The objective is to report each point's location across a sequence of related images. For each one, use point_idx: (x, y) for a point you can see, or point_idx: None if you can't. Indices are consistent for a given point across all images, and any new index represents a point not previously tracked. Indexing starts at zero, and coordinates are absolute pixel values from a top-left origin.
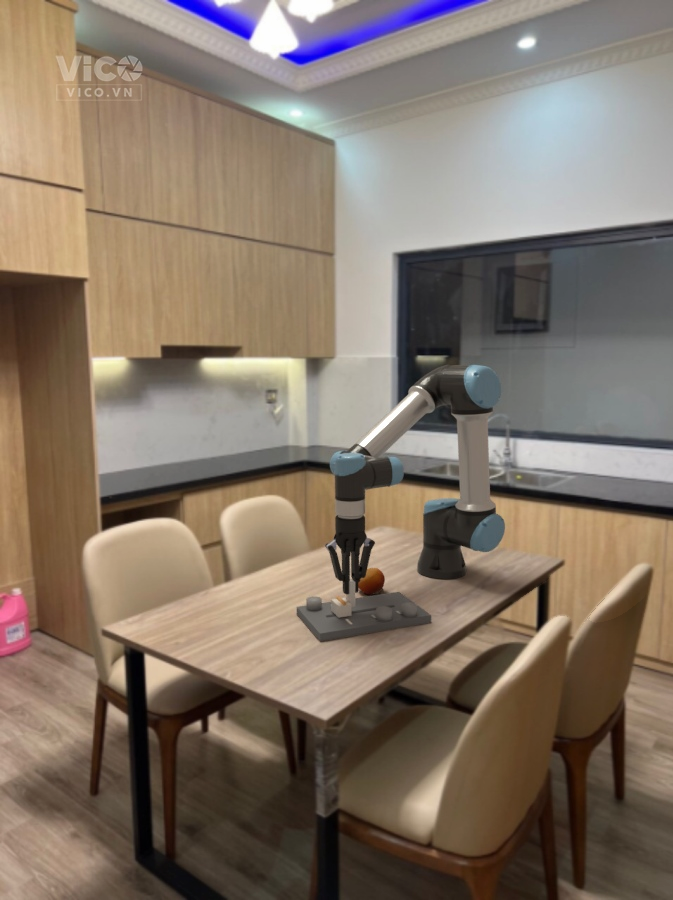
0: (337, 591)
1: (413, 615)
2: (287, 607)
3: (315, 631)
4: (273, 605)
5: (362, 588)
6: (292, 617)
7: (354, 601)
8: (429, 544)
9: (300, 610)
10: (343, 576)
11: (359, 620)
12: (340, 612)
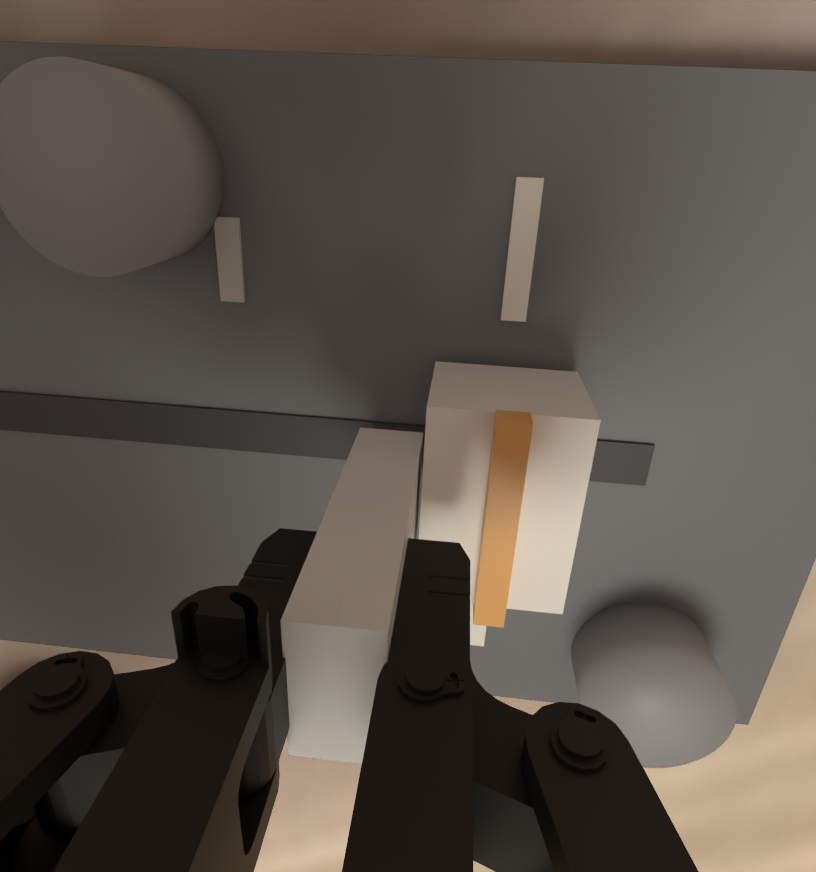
0: (289, 825)
1: None
2: (709, 780)
3: None
4: (770, 835)
5: None
6: (787, 646)
7: (360, 455)
8: None
9: (766, 661)
10: (495, 793)
11: (402, 237)
12: (562, 388)
